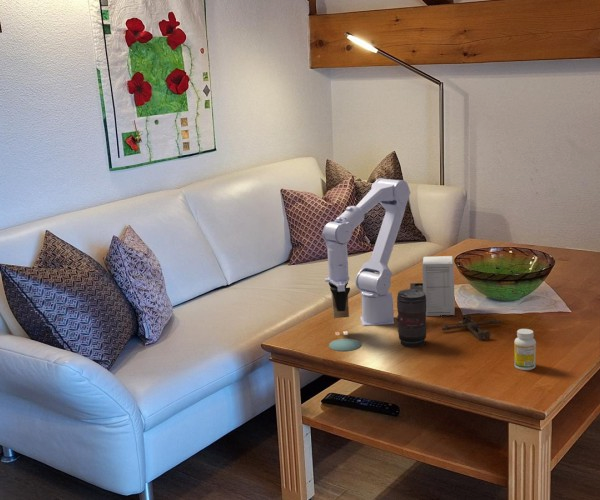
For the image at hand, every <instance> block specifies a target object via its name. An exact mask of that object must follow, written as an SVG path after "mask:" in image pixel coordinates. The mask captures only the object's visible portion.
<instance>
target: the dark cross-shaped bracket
mask: <svg viewBox="0 0 600 500" xmlns="http://www.w3.org/2000/svg"><path fill="white" fill-rule="evenodd" d="M500 322H501V321H500V320H499V319H496V318H494V319H492V320H488V321H481V322H479V321H478V322H476V321H474V320H473V319H472V316H471V315H469V313H468V314H466V316H464V317H462V320H460V321H458V322H457V323H458V324H459V325H447V324H445V325H444V326H442V327H441V330H442V331H447V330H448V331H449V330H455V329H457V330H458V329H465V328H466V329H467V330H468V331H469V332H470V333H472V334H473V335H474V337H476V338H477V339H478V340H479V341H484V340H485V341H486V340H490V336H491V330H487V329H486V330H482V329H481V328H480V327H482V326H488V325H496V324H499V323H500Z"/></svg>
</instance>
